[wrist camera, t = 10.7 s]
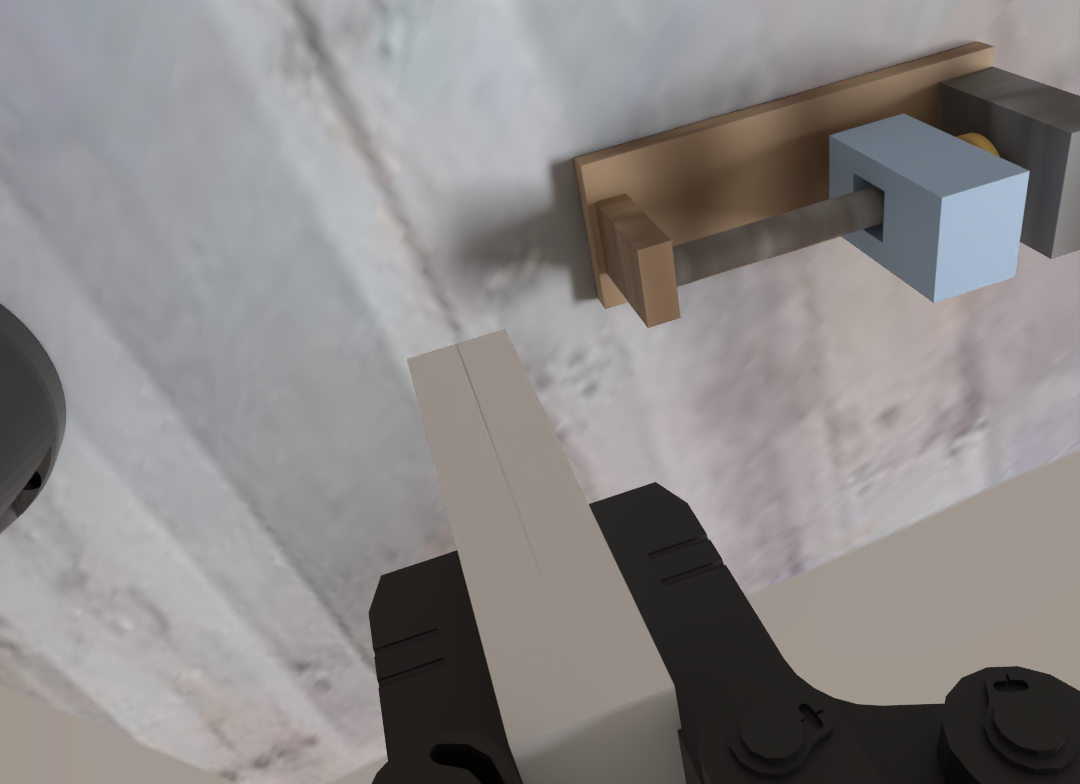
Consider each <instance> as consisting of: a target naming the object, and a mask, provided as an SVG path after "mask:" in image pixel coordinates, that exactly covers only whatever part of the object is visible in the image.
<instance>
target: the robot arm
mask: <svg viewBox="0 0 1080 784" xmlns="http://www.w3.org/2000/svg"><path fill="white" fill-rule="evenodd" d="M407 361H408V365H409V369H410V373H411V377H412V380H413V384H414V388H415V392H416V396H417V399H418V403H419V407H420V411H421V414H422V418H423V422H424V426H425V430H426V433H427V437H428V441H429V445H430V449H431V452H432V456H433V460H434V464H435V467H436V471H437V475H438V479H439V483H440V486H441V490H442V494H443V498H444V501H445V505H446V509H447V513H448V517H449V520H450V524H451V528H452V532H453V536H454V539H455V543H456V547H457V551H454V552H451V553H448V554H445V555H442V556H439V557H436V558H433V559H430V560H427V561H424V562H421V563H418V564H415V565H412V566H409V567H406V568H403V569H400V570H397V571H394V572H391V573H388V574H384V575H381V578H380V581H379V584H378V587H377V590H376V592H375V595H374V598H373V601H372V604H371V607H370V610H369V619H370V627H371V635H372V642H373V650H374V652H375V657H374V658H375V665H376V673H377V680H378V683H379V696H380V703H381V711H382V719H383V726H384V734H385V742H386V749H387V757H388V762H387V763H386V764H385V765H384V766H383V767H382V768H381V769H380V770H379V771H378V772H377V774H376V776H375V778H374V780H373V782H372V784H1080V691H1079V690H1077V689H1075V688H1073V687H1072V686H1069V685H1068V684H1066V683H1064V682H1063V681H1061V680H1059V679H1057V678H1055V677H1054V676H1052V675H1050V674H1046V673H1041V672H1038V671H1034V670H1030V669H1026V668H1022V667H1018V666H1014V667H988V668H984V669H982V670H980V671H977V672H975V673H973V674H970V675H968V676H965V677H963V678H961V680H960V681H959V682H958V683H957V684H956V686H955V687H954V688H953V689H952V690H951V691H950V692H949V693H948V695H947V696H946V700H945V704H921V705H895V706H894V705H892V706H875V705H861V704H854V703H851V702H847V701H843V700H840V699H836V698H833V697H831V696H829V695H827V694H825V693H823V692H821V691H819V690H817V689H815V688H813V687H812V686H811V685H809V684H808V683H807V682H805V681H804V680H803V679H802V678H800V677H799V676H798V675H797V674H796V673H795V672H794V671H793V669H792V668H791V667H790V666H789V664H788V663H787V662H786V661H785V659H784V658H783V656H782V655H781V653H780V652H779V650H778V648H777V647H776V645H775V643H774V642H773V640H772V639H771V637H770V635H769V634H768V632H767V631H766V629H765V627H764V626H763V624H762V623H761V621H760V619H759V618H758V616H757V614H756V613H755V611H754V610H753V608H752V606H751V605H750V603H749V602H748V600H747V598H746V597H745V595H744V593H743V592H742V590H741V589H740V587H739V585H738V584H737V582H736V581H735V579H734V577H733V576H732V574H731V573H730V571H729V569H728V568H727V566H726V565H724V564H723V561H722V558H721V556H720V555H719V553H718V552H717V550H716V548H715V547H714V545H713V544H712V542H711V540H708V538H707V534H706V532H705V531H704V529H703V527H702V526H701V524H700V523H699V521H698V519H697V518H696V516H695V514H694V513H693V511H692V510H691V508H690V506H689V505H688V503H686V502H685V501H683V500H682V499H680V498H679V497H677V496H676V495H674V494H673V493H671V492H670V491H668V490H667V489H665V488H664V487H662V486H661V485H659V484H658V483H656V482H654V483H651V484H648V485H645V486H642V487H639V488H636V489H633V490H630V491H627V492H624V493H621V494H618V495H615V496H612V497H609V498H606V499H603V500H600V501H597V502H594V503H591V504H588V502H587V500H586V498H585V496H584V494H583V492H582V490H581V488H580V485H579V483H578V481H577V479H576V477H575V475H574V473H573V471H572V469H571V467H570V464H569V462H568V460H567V458H566V456H565V454H564V452H563V450H562V448H561V445H560V443H559V441H558V439H557V437H556V435H555V433H554V431H553V429H552V426H551V424H550V422H549V420H548V418H547V416H546V414H545V412H544V410H543V407H542V405H541V403H540V401H539V399H538V397H537V395H536V393H535V391H534V388H533V386H532V384H531V382H530V380H529V378H528V376H527V374H526V372H525V369H524V367H523V365H522V363H521V361H520V359H519V357H518V355H517V353H516V350H515V348H514V346H513V344H512V342H511V340H510V338H509V336H508V334H507V331H506V329H504V330H500V331H497V332H494V333H491V334H487V335H484V336H481V337H477V338H474V339H471V340H468V341H464V342H461V343H458V344H455V345H451V346H448V347H445V348H442V349H438V350H435V351H432V352H428V353H425V354H422V355H419V356H415V357H412V358H409V359H407ZM65 425H66V404H65V398H64V392H63V388H62V385H61V382H60V379H59V376H58V373H57V371H56V369H55V367H54V365H53V363H52V361H51V359H50V358H49V356H48V354H47V352H46V351H45V349H44V348H43V347H42V345H41V344H40V342H39V341H38V340H37V339H36V337H35V336H34V335H33V334H32V332H31V331H30V330H29V329H28V328H27V327H26V326H25V325H24V324H23V323H22V322H21V321H20V320H19V319H18V318H17V317H16V316H15V315H14V314H12V313H11V312H10V311H9V310H8V309H7V308H5V307H4V306H3V305H1V304H0V534H1V533H2V532H3V531H4V530H5V529H6V528H7V527H8V526H9V525H11V524H12V523H13V522H14V521H15V520H16V519H17V518H18V517H19V516H20V515H21V514H22V513H23V512H24V511H25V510H26V509H27V508H28V507H29V506H30V505H31V504H32V503H33V502H34V500H35V499H36V498H37V496H38V495H39V494H40V492H41V491H42V489H43V488H44V486H45V484H46V483H47V481H48V479H49V477H50V475H51V473H52V470H53V467H54V465H55V462H56V459H57V456H58V453H59V450H60V447H61V444H62V440H63V436H64V432H65Z"/></svg>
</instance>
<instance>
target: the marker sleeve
mask: <svg viewBox="0 0 1080 784" xmlns="http://www.w3.org/2000/svg"><path fill="white" fill-rule="evenodd" d="M1029 172H1030V171H1029V170H1027V169H1024V168H1022V167H1020V166H1018V165H1016V164H1013V163H1011V162H1009V161H1007V160H1005V159H1002V158H1000V157H998V156H996V155H994V154H991V153H989V152H987V151H985V150H983V149H980V148H978V147H976V146H974V145H972V144H970V143H967V142H965V141H963V140H961V139H959V138H956V137H954V136H952V135H950V134H948V133H945V132H943V131H941V130H939V129H937V128H934V127H932V126H930V125H928V124H926V123H924V122H921V121H919V120H917V119H915V118H913V117H910V116H908V115H906V114H904V113H903V114H900V115H897V116H893V117H890V118H886V119H883V120H880V121H876V122H873V123H869V124H866V125H863V126H859V127H856V128H852V129H849V130H846V131H842V132H839V133H835V134H832V135H829V199H832V198H835V197H839V196H842V195H845V194H849V193H852V192H855V191H859V190H862V189H865V188H869V187H872V186H876V187H878V188H880V189H881V190H883V191H885V198H884V223H882V224H878V225H875V226H872V227H869V228H865V229H862V230H859V231H856V232H852V233H849V234H846V235H843V236H841V237H843V238H844V239H846V240H847V241H848V242H850V243H851V244H853V245H854V246H855V247H857V248H858V249H860V250H861V251H862V252H864V253H865V254H866V255H868V256H869V257H871V258H872V259H873V260H875V261H876V262H878V263H879V264H880V265H882V266H883V267H885V268H886V269H887V270H889V271H890V272H892V273H893V274H894V275H896V276H897V277H898V278H900V279H901V280H903V281H904V282H905V283H907V284H908V285H910V286H911V287H912V288H914V289H915V290H917V291H918V292H919V293H921V294H922V295H924V296H925V297H926V298H928V299H929V300H930V301H932V302H933V303H934V302H937V301H941V300H944V299H947V298H950V297H953V296H956V295H959V294H962V293H966V292H969V291H972V290H975V289H978V288H981V287H984V286H988V285H991V284H994V283H997V282H1000V281H1003V280H1006V279H1009V278H1013V277H1015V272H1016V265H1017V258H1018V251H1019V243H1020V236H1021V229H1022V222H1023V215H1024V208H1025V201H1026V193H1027V186H1028V179H1029Z"/></svg>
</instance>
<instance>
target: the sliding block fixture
mask: <svg viewBox="0 0 1080 784" xmlns="http://www.w3.org/2000/svg"><path fill="white" fill-rule="evenodd" d="M993 56H994V46H991V45H988V44H985V43H981V42H976V43H972V44H969V45H965V46H962V47H958V48H955V49H951V50H948V51H944V52H941V53H937V54H934V55H931V56H927V57H924V58H920V59H917V60H913V61H910V62H906V63H903V64H899V65H896V66H892V67H889V68H885V69H882V70H878V71H875V72H871V73H868V74H864V75H861V76H857V77H854V78H850V79H847V80H844V81H840V82H837V83H833V84H830V85H826V86H823V87H819V88H816V89H812V90H809V91H805V92H802V93H798V94H795V95H791V96H788V97H784V98H781V99H777V100H774V101H770V102H767V103H763V104H760V105H756V106H753V107H750V108H746V109H743V110H739V111H736V112H732V113H729V114H725V115H722V116H718V117H715V118H711V119H708V120H704V121H701V122H697V123H694V124H690V125H687V126H683V127H680V128H676V129H673V130H669V131H666V132H662V133H659V134H656V135H652V136H649V137H645V138H642V139H638V140H635V141H631V142H628V143H624V144H621V145H617V146H614V147H610V148H607V149H603V150H600V151H596V152H593V153H589V154H586V155H582V156H579V157H575V158H574V164H575V169H576V175H577V181H578V186H579V192H580V198H581V203H582V209H583V215H584V221H585V226H586V232H587V238H588V243H589V249H590V255H591V261H592V266H593V272H594V278H595V283H596V289H597V295H598V299H599V301H600V302H601V304H602V305H603V306H604V308H605V309H606V308H609V307H613V306H616V305H619V304H622V303H626V302H629V304H630V305H631V306H632V307H633V309H634V310H635V311H636V313H637V314H638V315H639V317H640V318H641V319H642V321H643V322H644V323H645V325H646V326H647V327H648V328H649V327H652V326H656V325H659V324H662V323H665V322H668V321H672V320H675V319H678V318H680V310H679V302H678V293H677V287H678V286H681V285H684V284H688V283H691V282H694V281H697V280H701V279H704V278H707V277H710V276H714V275H717V274H720V273H723V272H727V271H730V270H733V269H736V268H740V267H743V266H746V265H749V264H753V263H756V262H759V261H762V260H766V259H769V258H772V257H775V256H779V255H782V254H785V253H788V252H792V251H795V250H798V249H801V248H805V247H808V246H811V245H815V244H818V243H821V242H824V241H828V240H831V239H834V238H837V237H841V236H843V235H846V234H849V233H852V232H856V231H859V230H862V229H865V228H869V227H872V226H875V225H878V224H882V223H884V198H885V191H883V190H881V189H880V188H878V187H876V186H872V187H869V188H865V189H862V190H859V191H855V192H852V193H849V194H845V195H842V196H839V197H835V198H832V199H829V135H832V134H835V133H839V132H842V131H846V130H849V129H852V128H856V127H859V126H863V125H866V124H869V123H873V122H876V121H880V120H883V119H886V118H890V117H893V116H897V115H900V114H903V113H904V114H906V115H908V116H910V117H913V118H915V119H917V120H919V121H921V122H924V123H926V124H928V125H930V126H932V127H934V128H937V129H939V130H941V131H943V132H945V133H948V134H950V135H952V136H954V137H956V138H959V139H961V140H963V141H965V142H967V143H970V144H972V145H974V146H976V147H978V148H980V149H983V150H985V151H987V152H989V153H991V154H994V155H996V156H998V157H1000V158H1002V159H1005V160H1007V161H1009V162H1011V163H1013V164H1016V165H1018V166H1020V167H1022V168H1024V169H1027V170H1029V171H1030V172H1029V179H1028V186H1027V193H1026V201H1025V208H1024V215H1023V222H1022V229H1021V236H1020V242H1022V243H1023V244H1025V245H1027V246H1029V247H1031V248H1032V249H1034V250H1036V251H1038V252H1040V253H1041V254H1043V255H1045V256H1047V257H1049V258H1050V259H1052V258H1056V257H1059V256H1062V255H1065V254H1068V253H1071V252H1074V251H1078V250H1080V96H1078V95H1075V94H1072V93H1069V92H1066V91H1063V90H1060V89H1057V88H1054V87H1052V86H1049V85H1046V84H1043V83H1040V82H1037V81H1034V80H1031V79H1028V78H1025V77H1022V76H1019V75H1016V74H1013V73H1010V72H1007V71H1004V70H1001V69H998V68H995V67H992V65H993Z"/></svg>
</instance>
